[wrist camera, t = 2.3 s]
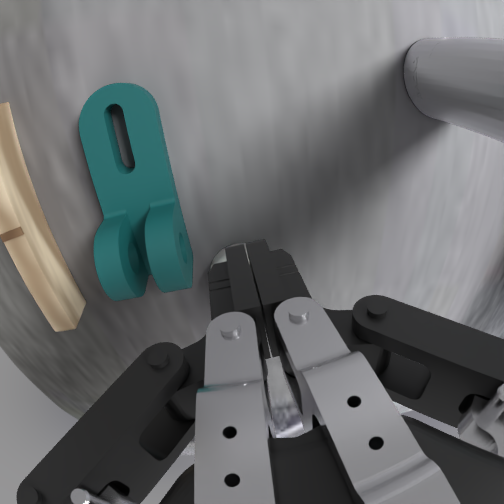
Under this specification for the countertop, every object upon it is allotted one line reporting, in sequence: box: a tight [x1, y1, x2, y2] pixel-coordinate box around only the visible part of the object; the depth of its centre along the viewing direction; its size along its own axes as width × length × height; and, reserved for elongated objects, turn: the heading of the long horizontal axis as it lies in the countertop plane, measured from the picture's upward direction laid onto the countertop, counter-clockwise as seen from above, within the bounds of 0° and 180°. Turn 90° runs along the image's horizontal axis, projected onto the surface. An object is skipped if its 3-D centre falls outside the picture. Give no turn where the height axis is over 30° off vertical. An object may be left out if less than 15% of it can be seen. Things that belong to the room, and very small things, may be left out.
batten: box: [0, 102, 86, 332], centre depth 24 cm, size 3×24×5 cm, turn 9°
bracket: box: [79, 83, 193, 301], centre depth 23 cm, size 18×7×8 cm, turn 8°
